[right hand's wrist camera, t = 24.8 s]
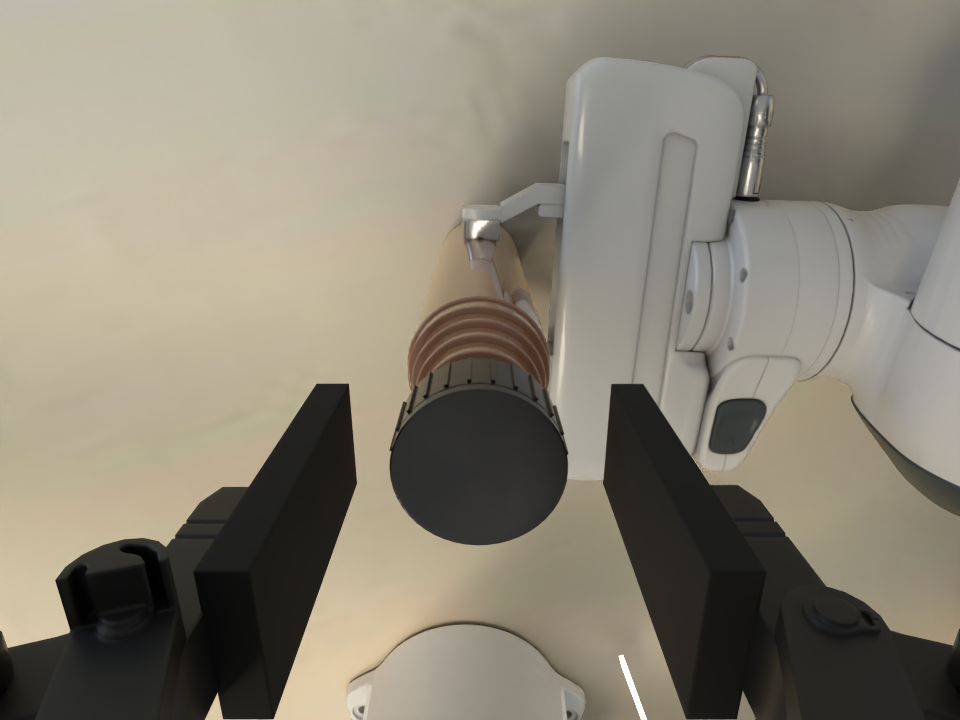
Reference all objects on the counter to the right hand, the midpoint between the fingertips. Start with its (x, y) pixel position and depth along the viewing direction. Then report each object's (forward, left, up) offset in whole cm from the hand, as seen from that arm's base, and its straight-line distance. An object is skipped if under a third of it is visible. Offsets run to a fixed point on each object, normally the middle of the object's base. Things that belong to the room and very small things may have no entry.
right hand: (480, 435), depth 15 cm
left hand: (-1, +1, -16) cm, 16 cm away
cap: (0, 0, +1) cm, 1 cm away
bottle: (0, 0, -23) cm, 23 cm away
